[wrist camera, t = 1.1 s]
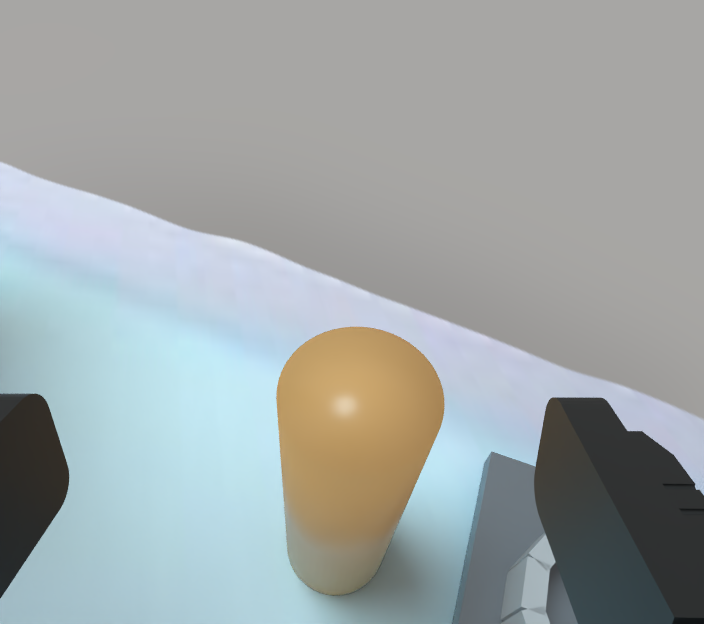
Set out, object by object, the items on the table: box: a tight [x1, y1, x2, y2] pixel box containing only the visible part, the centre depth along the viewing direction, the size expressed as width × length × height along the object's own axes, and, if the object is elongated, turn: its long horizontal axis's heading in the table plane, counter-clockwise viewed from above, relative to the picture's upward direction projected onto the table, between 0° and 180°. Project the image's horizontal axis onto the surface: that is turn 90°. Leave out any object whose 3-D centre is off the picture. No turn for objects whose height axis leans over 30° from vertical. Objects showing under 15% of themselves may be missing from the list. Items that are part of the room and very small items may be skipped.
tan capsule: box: [276, 327, 444, 595], centre depth 22 cm, size 5×5×15 cm
